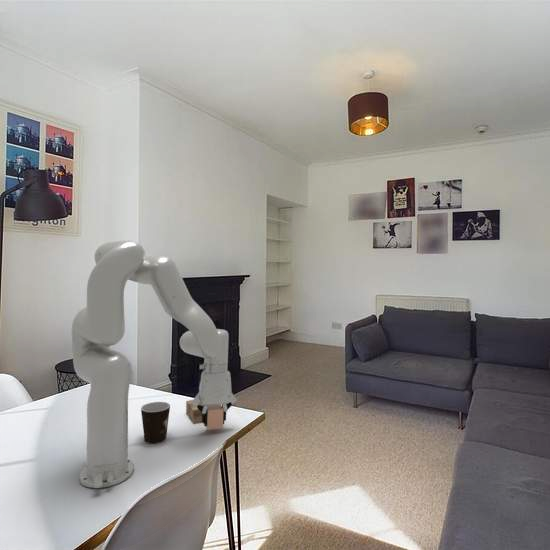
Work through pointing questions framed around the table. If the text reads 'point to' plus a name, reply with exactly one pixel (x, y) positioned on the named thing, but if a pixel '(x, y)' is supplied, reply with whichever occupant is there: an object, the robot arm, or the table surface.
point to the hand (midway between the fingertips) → (213, 423)
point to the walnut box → (193, 412)
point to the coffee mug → (155, 421)
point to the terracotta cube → (214, 417)
